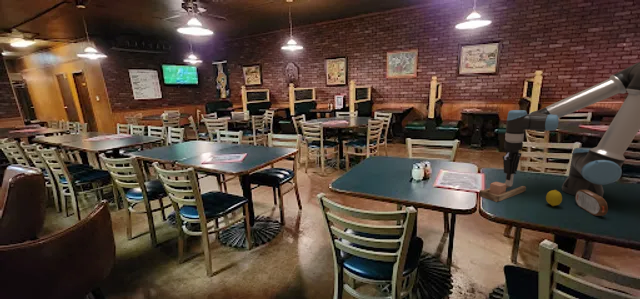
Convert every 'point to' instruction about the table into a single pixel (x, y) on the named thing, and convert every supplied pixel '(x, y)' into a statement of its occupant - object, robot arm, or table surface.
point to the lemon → (554, 197)
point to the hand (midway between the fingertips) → (508, 185)
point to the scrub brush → (591, 202)
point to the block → (497, 188)
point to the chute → (502, 196)
